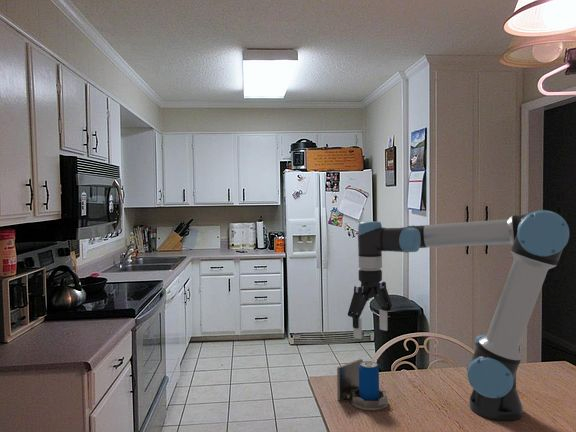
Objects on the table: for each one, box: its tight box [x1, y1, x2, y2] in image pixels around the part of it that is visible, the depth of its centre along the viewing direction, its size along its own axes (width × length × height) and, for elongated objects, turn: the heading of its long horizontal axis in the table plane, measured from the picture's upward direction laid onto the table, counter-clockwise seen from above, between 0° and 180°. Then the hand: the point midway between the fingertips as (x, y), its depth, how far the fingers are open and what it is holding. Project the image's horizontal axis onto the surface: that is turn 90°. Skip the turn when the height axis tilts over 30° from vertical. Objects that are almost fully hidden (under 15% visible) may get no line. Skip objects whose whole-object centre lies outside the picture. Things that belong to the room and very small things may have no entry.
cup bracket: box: [336, 358, 389, 412], centre depth 148 cm, size 14×12×11 cm
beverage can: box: [359, 360, 380, 400], centre depth 148 cm, size 6×6×12 cm
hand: (371, 334), depth 147 cm, fingers open, 13 cm apart
